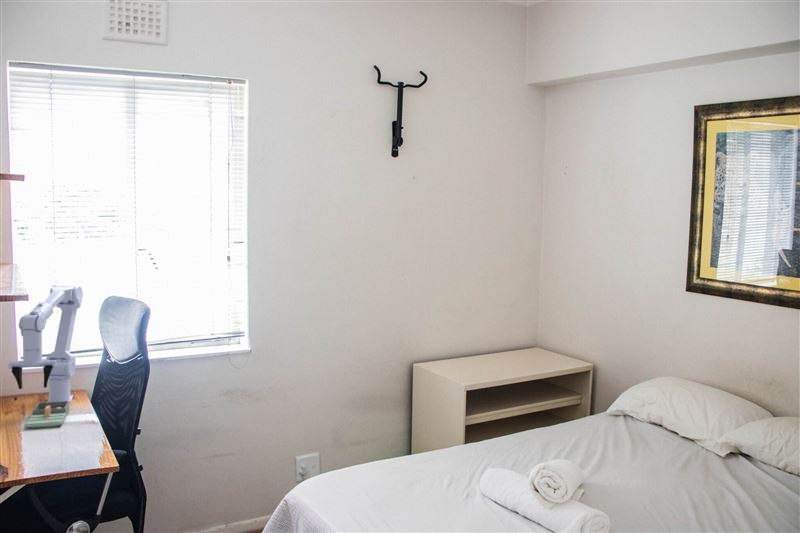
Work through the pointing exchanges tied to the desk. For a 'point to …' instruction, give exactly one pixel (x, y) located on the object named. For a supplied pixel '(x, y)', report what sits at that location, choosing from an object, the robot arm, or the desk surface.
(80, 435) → the desk surface
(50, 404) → the tub
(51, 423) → the lid
